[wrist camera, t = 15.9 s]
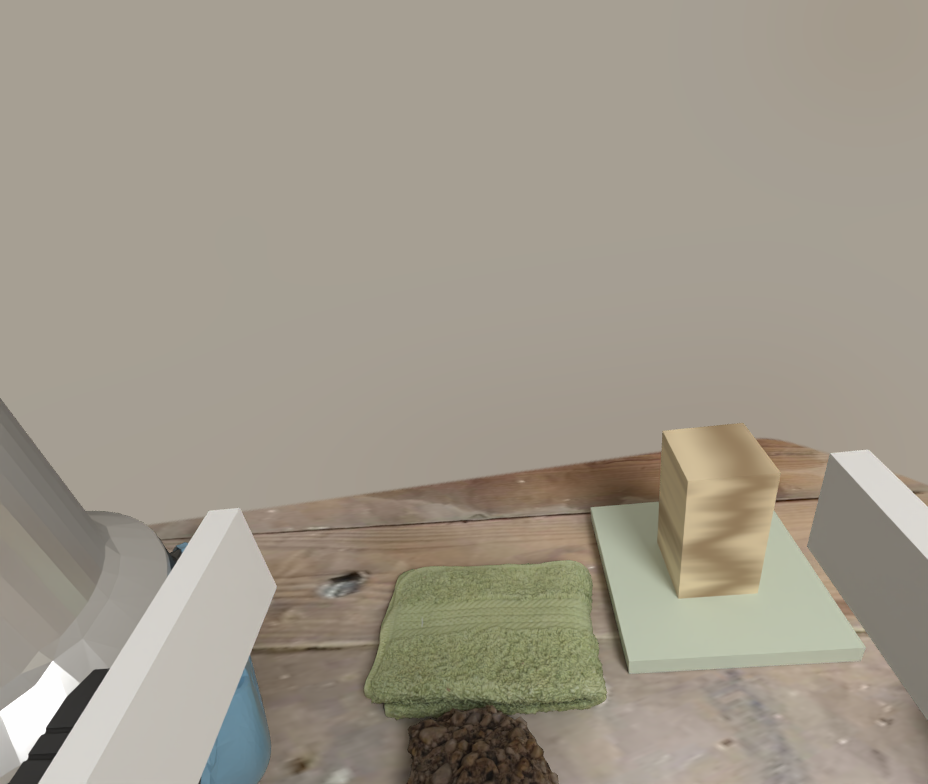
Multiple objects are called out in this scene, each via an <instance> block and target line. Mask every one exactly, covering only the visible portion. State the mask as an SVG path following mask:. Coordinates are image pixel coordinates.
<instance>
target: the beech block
mask: <svg viewBox="0 0 928 784" xmlns="http://www.w3.org/2000/svg"><path fill="white" fill-rule="evenodd" d="M780 474H781V473H780V471H779V470H778V469H777V467H776V466H775V465H774V463H773V462H772V461H771V459H770V458H769V457H768V455H767V454H766V453H765V451H764V450H763V449H762V447H761V446H760V445H759V443H758V442H757V441H756V439H755V438H754V437H753V435H752V434H751V433H750V431H749V430H748V429H747V427H746V426H745V425H744V423H739V424H738V423H737V424H727V425H717V426H708V427H698V428H687V429H677V430H667V431H663V433H662V454H661V474H660V495H659V515H658V535H657V543H658V545H659V548H660V551H661V554H662V556H663V559H664V562H665V564H666V567H667V570H668V572H669V575H670V578H671V580H672V583H673V586H674V588H675V591H676V594H677V596H678V599H682V598H696V597H711V596H726V595H740V594H755V593H758V589H759V584H760V579H761V573H762V568H763V563H764V558H765V552H766V547H767V542H768V537H769V532H770V526H771V521H772V516H773V511H774V505H775V500H776V495H777V490H778V484H779V479H780Z"/></svg>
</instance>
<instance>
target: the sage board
mask: <svg viewBox="0 0 928 784" xmlns="http://www.w3.org/2000/svg"><path fill="white" fill-rule="evenodd" d="M658 515H659V502H649V503H637V504H625V505H614V506H602V507H591V520H592V524H593V528H594V532H595V537H596V541H597V545H598V549H599V553H600V557H601V561H602V565H603V569H604V574H605V578H606V582H607V586H608V590H609V594H610V598H611V602H612V606H613V610H614V615H615V619H616V623H617V627H618V631H619V635H620V639H621V643H622V647H623V651H624V656H625V660H626V664H627V668H628V672H629V674H635V673H653V672H671V671H689V670H707V669H725V668H743V667H761V666H779V665H797V664H815V663H833V662H851V661H861V659H862V657H863V654H864V651H865V648H866V647H865V646H864V644H863V643H862V641H861V640H860V638H859V637H858V635H857V634H856V632H855V631H854V629H853V628H852V626H851V625H850V623H849V622H848V620H847V619H846V617H845V616H844V614H843V613H842V611H841V610H840V608H839V607H838V605H837V604H836V602H835V601H834V599H833V598H832V596H831V595H830V594H829V592H828V591H827V589H826V588H825V586H824V585H823V583H822V582H821V580H820V579H819V577H818V576H817V574H816V573H815V571H814V570H813V568H812V567H811V565H810V564H809V562H808V561H807V559H806V558H805V556H804V555H803V553H802V552H801V550H800V549H799V547H798V546H797V544H796V543H795V541H794V540H793V538H792V537H791V535H790V534H789V532H788V531H787V529H786V528H785V526H784V525H783V523H782V522H781V520H780V519H779V517H778V516H777V514H776V513H775V511H773V516H772V521H771V526H770V532H769V537H768V542H767V547H766V552H765V558H764V563H763V568H762V573H761V579H760V584H759V589H758V593H755V594H740V595H726V596H711V597H696V598H682V599H678V596H677V594H676V591H675V588H674V586H673V583H672V580H671V578H670V575H669V572H668V570H667V567H666V564H665V562H664V559H663V556H662V554H661V551H660V548H659V545H658V543H657V535H658Z"/></svg>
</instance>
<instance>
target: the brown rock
mask: <svg viewBox="0 0 928 784" xmlns="http://www.w3.org/2000/svg"><path fill="white" fill-rule="evenodd" d="M408 731H409V733H408V734H409V737H410V740H409V747H408V752H409V753H410V754H411V755H412V759H413V762H412V764H411V773H410V777H409V780H408V782H407V784H559V783H558V775H557V774H556V773H553V772H552V771H551V770H550V767H549V765H548V763H547V762H546V760H545V759H544V756H543V753H544V751H543V749H542V748H541V747H540V746H538V745H537V743H536V739H535V737H534V736H533V735H532V734H531V733H530V731H529V730H528V728H527V722H526V721H525V720H524V719H523V718H521V717H518V718H517V719H516V720H515V719H513V718H511V717H509V716H507V715H504V714H503V712H502V711H499V710H496V708H495V707H494V706H493V705H487V706H485V707H483V708H474V709H470V710H467V711H464V710H459V709H454V708H452V709H451V710H450V711H449V712H446V713H444V714H443V715H442V716H440V717H438V718H437V721H434V720H432V719H431V718H430V719H426V720H422V721H420V722H419V723H418V724H416V725H413V726H410V727H409V729H408Z"/></svg>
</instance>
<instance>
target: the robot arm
mask: <svg viewBox="0 0 928 784" xmlns="http://www.w3.org/2000/svg"><path fill="white" fill-rule="evenodd" d="M807 547H808V548H809V550H810V551H811V553H812V554H813V555H814V557H815V558H816V560H817V561H818V563H819V564H820V566H821V567H822V569H823V570H824V571H825V573H826V574H827V576H828V577H829V579H830V580H831V582H832V583H833V584H834V586H835V587H836V589H837V590H838V592H839V593H840V595H841V596H842V597H843V599H844V600H845V602H846V603H847V605H848V606H849V608H850V609H851V611H852V612H853V613H854V615H855V616H856V618H857V619H858V621H859V622H860V624H861V625H862V626H863V628H864V629H865V631H866V632H867V634H868V635H869V637H870V638H871V640H872V641H873V642H874V644H875V645H876V647H877V648H878V650H879V651H880V653H881V654H882V655H883V657H884V658H885V660H886V661H887V663H888V664H889V666H890V667H891V669H892V670H893V671H894V673H895V674H896V676H897V677H898V679H899V680H900V682H901V683H902V684H903V686H904V687H905V689H906V690H907V692H908V693H909V695H910V696H911V698H912V699H913V700H914V702H915V703H916V705H917V706H918V708H919V709H920V711H921V712H922V713H923V715H924V716H925V718H926V719H927V721H928V507H927V506H926V505H925V504H924V503H923V502H922V501H921V500H920V499H919V498H918V497H917V496H916V495H915V494H914V493H913V492H912V491H911V490H910V489H909V488H908V487H907V486H906V485H905V484H904V483H902V482H901V481H900V480H899V479H898V478H897V477H896V476H895V475H894V474H893V473H892V472H891V471H890V470H889V469H888V468H887V467H886V466H885V465H884V464H883V463H882V462H881V461H880V460H879V459H877V457H876V456H875V455H874V454H873V453H871V452H870V451H869V450H860V451H849V452H838V453H830V455H829V459H828V463H827V468H826V472H825V476H824V480H823V484H822V488H821V492H820V496H819V500H818V504H817V508H816V512H815V516H814V520H813V524H812V528H811V532H810V537H809V541H808V545H807ZM276 588H277V586H276V584H275V582H274V580H273V578H272V576H271V573H270V571H269V569H268V567H267V565H266V563H265V561H264V559H263V556H262V554H261V552H260V550H259V548H258V546H257V544H256V541H255V539H254V537H253V535H252V533H251V531H250V529H249V527H248V524H247V522H246V520H245V518H244V516H243V514H242V512H241V510H240V508H233V509H223V510H212V511H208V513H207V515H206V516H205V518H204V519H203V521H202V523H201V524H200V526H199V527H198V529H197V531H196V532H195V534H194V535H193V537H192V539H191V540H190V542H189V543H186V542H185V543H182V544H180V545H177V546H176V547H175V548H174V550H173V552H171V553H169V552H168V551H167V549H166V548H165V546H164V545H163V543H162V542H161V540H160V539H159V538H158V537H157V535H156V534H155V533H154V531H153V530H152V529H150V528H149V527H148V526H147V525H145V524H144V523H143V522H141V521H139V520H136V519H134V518H132V517H130V516H126V515H122V514H120V513H113V512H106V511H85V510H84V509H83V507H82V506H81V505H80V503H79V502H78V501H77V499H76V498H75V497H74V495H73V494H72V493H71V492H70V490H69V489H68V487H67V486H66V485H65V483H64V482H63V481H62V479H61V478H60V477H59V475H58V474H57V473H56V471H55V470H54V469H53V467H52V466H51V465H50V464H49V462H48V461H47V460H46V458H45V457H44V456H43V454H42V453H41V452H40V450H39V449H38V448H37V446H36V445H35V444H34V442H33V441H32V440H31V438H30V437H29V436H28V434H27V433H26V432H25V430H24V429H23V428H22V426H21V425H20V424H19V422H18V421H17V420H16V418H15V417H14V416H13V414H12V413H11V412H10V410H9V409H8V408H7V406H6V405H5V404H4V402H3V401H2V400H1V398H0V784H257V783H258V782H259V781H260V779H261V778H262V776H263V775H264V773H265V771H266V769H267V766H268V763H269V760H270V755H271V741H270V734H269V729H268V724H267V720H266V715H265V711H264V707H263V703H262V698H261V695H260V691H259V687H258V683H257V679H256V675H255V671H254V667H253V663H252V660H251V656H250V653H251V651H252V648H253V646H254V643H255V641H256V638H257V636H258V633H259V631H260V628H261V626H262V623H263V621H264V618H265V616H266V613H267V611H268V608H269V606H270V603H271V601H272V598H273V596H274V593H275V591H276Z"/></svg>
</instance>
